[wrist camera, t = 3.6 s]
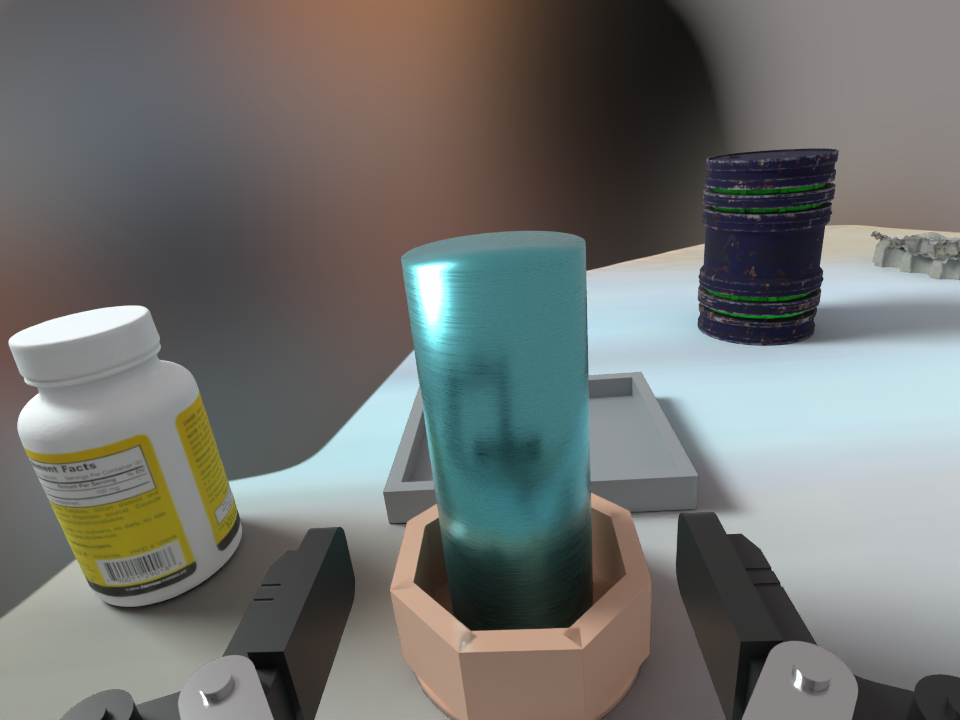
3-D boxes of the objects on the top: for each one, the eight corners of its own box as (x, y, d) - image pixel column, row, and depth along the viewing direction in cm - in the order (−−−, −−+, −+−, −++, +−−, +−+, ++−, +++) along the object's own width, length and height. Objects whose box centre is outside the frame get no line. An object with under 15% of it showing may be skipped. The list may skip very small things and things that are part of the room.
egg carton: (860, 265, 68) (866, 231, 67) (913, 257, 69) (920, 223, 68) (944, 285, 58) (953, 245, 57) (1005, 275, 60) (1015, 236, 58)
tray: (389, 523, 30) (383, 491, 29) (422, 410, 42) (419, 386, 41) (696, 509, 29) (698, 475, 28) (640, 397, 41) (641, 372, 40)
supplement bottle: (196, 502, 34) (126, 294, 29) (272, 537, 30) (206, 305, 25) (65, 581, 28) (-48, 340, 23) (138, 636, 24) (21, 364, 20)
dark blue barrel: (825, 317, 52) (850, 145, 47) (802, 353, 45) (828, 157, 40) (715, 305, 58) (725, 152, 53) (680, 335, 51) (687, 163, 46)
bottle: (448, 681, 20) (384, 277, 15) (460, 569, 26) (415, 239, 20) (604, 677, 20) (598, 260, 14) (584, 564, 25) (574, 225, 20)
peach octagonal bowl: (388, 744, 19) (369, 657, 18) (425, 551, 28) (415, 483, 26) (672, 739, 18) (677, 649, 17) (619, 543, 27) (619, 472, 26)
